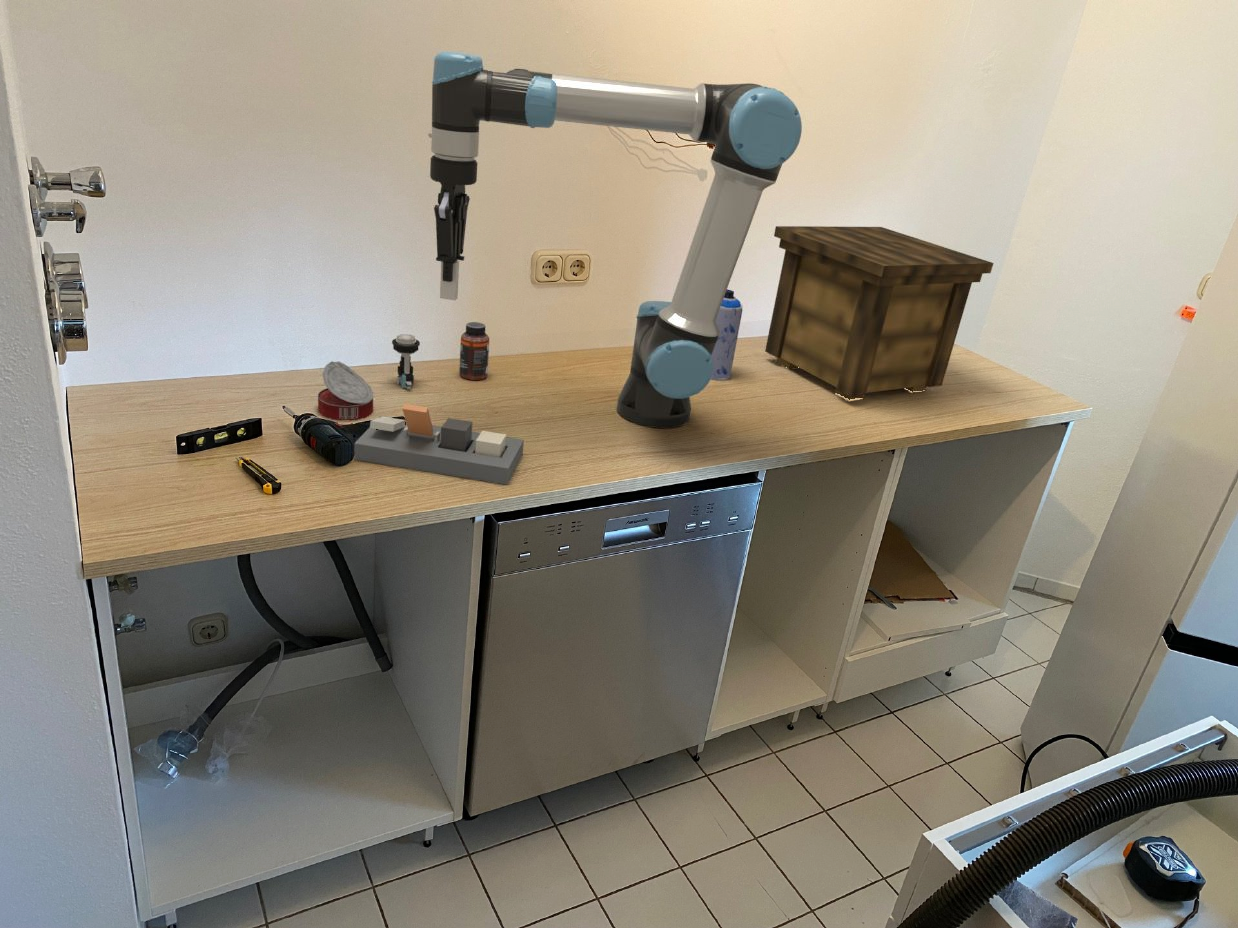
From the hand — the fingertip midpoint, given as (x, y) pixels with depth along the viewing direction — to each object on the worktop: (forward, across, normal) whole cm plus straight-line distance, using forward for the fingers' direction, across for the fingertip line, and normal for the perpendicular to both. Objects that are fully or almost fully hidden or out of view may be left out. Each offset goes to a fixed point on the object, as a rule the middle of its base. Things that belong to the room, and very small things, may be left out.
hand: (448, 298), depth 157 cm
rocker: (+20, +13, -6) cm, 25 cm away
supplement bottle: (+25, -27, -2) cm, 37 cm away
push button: (+24, -16, -13) cm, 32 cm away
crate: (+25, -65, +83) cm, 108 cm away
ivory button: (+23, +13, +12) cm, 29 cm away
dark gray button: (+22, +13, +6) cm, 26 cm away
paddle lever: (+20, +13, 0) cm, 24 cm away
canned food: (+25, 0, -19) cm, 31 cm away
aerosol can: (+25, -52, +50) cm, 76 cm away
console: (+24, +13, +3) cm, 28 cm away
